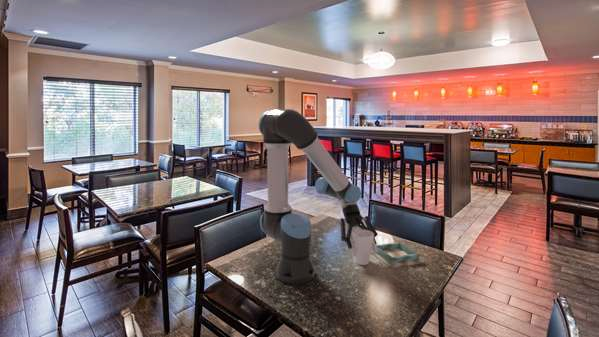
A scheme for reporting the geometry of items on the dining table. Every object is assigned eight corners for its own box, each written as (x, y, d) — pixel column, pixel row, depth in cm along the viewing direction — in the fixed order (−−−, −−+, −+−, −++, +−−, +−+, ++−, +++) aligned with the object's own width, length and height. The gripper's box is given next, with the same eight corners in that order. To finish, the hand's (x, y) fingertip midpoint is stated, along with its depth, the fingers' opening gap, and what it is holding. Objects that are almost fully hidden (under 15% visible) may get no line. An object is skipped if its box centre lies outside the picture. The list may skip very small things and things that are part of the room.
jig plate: (389, 268, 137) (390, 260, 136) (369, 251, 153) (369, 244, 152) (423, 262, 142) (424, 255, 141) (400, 247, 158) (400, 240, 157)
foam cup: (374, 266, 138) (375, 237, 136) (352, 266, 138) (353, 237, 136) (369, 257, 147) (371, 229, 145) (349, 256, 147) (350, 229, 145)
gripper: (367, 209, 157) (384, 254, 145) (325, 213, 150) (338, 260, 138) (374, 201, 151) (391, 247, 139) (330, 205, 145) (344, 253, 132)
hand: (365, 253), depth 139 cm, fingers closed on foam cup, 9 cm apart
